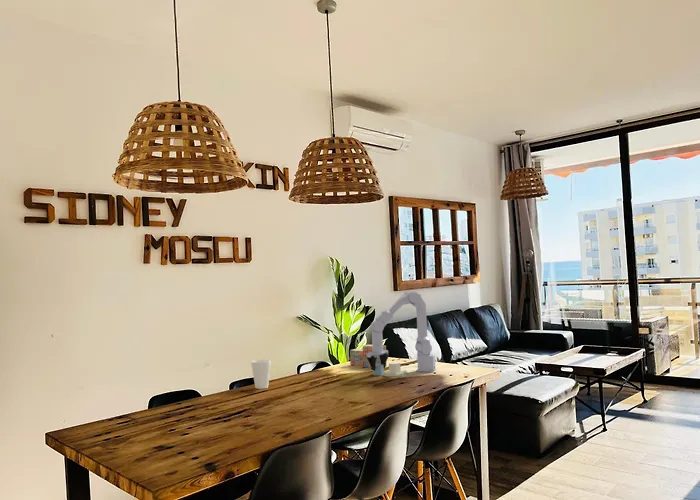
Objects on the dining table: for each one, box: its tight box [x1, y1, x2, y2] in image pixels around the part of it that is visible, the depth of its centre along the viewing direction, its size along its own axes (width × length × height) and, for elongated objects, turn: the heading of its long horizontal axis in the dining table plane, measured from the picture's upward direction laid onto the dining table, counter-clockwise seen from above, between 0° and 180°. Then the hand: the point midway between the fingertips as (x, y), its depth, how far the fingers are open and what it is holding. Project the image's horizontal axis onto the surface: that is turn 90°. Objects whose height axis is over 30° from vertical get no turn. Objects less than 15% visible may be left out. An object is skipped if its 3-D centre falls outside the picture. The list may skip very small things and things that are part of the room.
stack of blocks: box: [349, 344, 387, 368], centre depth 311 cm, size 21×6×12 cm, turn 57°
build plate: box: [383, 370, 408, 378], centre depth 282 cm, size 10×10×1 cm
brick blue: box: [372, 365, 385, 377], centre depth 284 cm, size 4×4×5 cm
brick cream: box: [388, 361, 402, 374], centre depth 282 cm, size 4×4×5 cm
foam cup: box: [250, 358, 272, 390], centre depth 263 cm, size 10×9×13 cm
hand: (378, 369), depth 284 cm, fingers open, 7 cm apart
